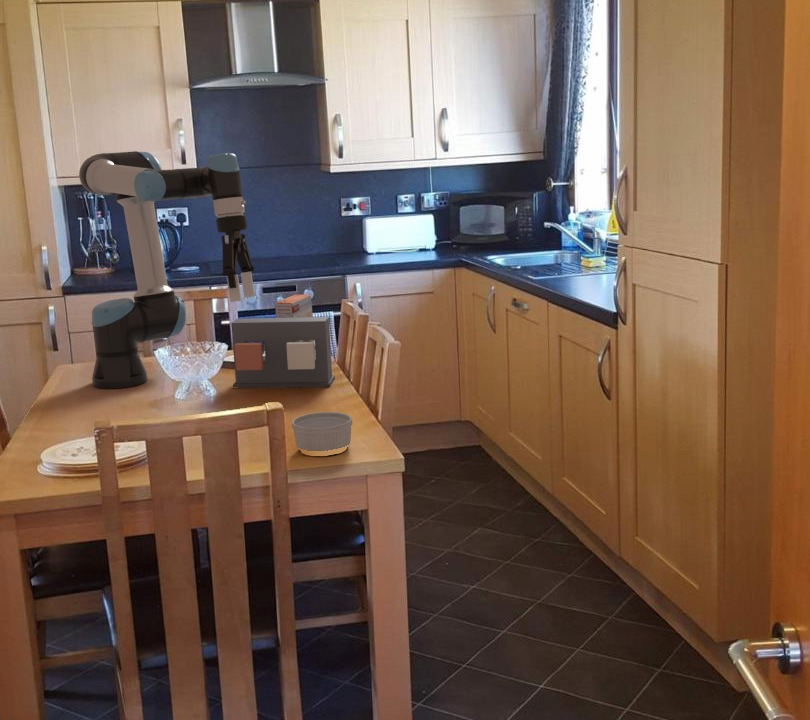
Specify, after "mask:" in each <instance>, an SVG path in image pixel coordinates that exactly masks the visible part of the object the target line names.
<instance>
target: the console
mask: <svg viewBox="0 0 810 720" xmlns="http://www.w3.org/2000/svg"><path fill="white" fill-rule="evenodd" d="M230 324H231V325H230V326H231V338H232V339H231V341H232V351H233V364H234V376H235V377H234V378H235V381H234V382H233V384H232V388H233V387H238V388H237V389H261V388H262V389H266V388H271V389H272V388H273V389H274V388H276V389H277V388H280V389H281V388H330V387H331V386H332V384H333V382H334V380H335V379H336V376H335V375H334V374H333V367H332V353H331V352H332V350H331V331H330V316H319V317H318V316H316V317H315V316H314V317H313V316H312V317H302V318H276V317H263V318H262V317H260V318H257V317H256V318H255V317H254V318H236V319H235V320H232V321H231V323H230ZM299 340H314V345H315V368H314V369H290V370H288V362H287V346H286V344H287V343H288V342H299ZM254 341H259V342H264V343H263V345H264V346H265V352H264V355H263V366H264V368H263V369H262V370H236V360H235V347H234V345H235V344H236V343H251V342H254Z"/></svg>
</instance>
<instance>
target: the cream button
mask: <svg viewBox="0 0 810 720" xmlns="http://www.w3.org/2000/svg"><path fill="white" fill-rule="evenodd" d="M286 346H287V362H288V370H290V369H314V368H315V355H316V354H315V355H314V351H315V341H314V342H311V341H309V340H305V341H303V342H288V343H287V344H286Z"/></svg>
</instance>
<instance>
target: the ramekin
mask: <svg viewBox="0 0 810 720" xmlns="http://www.w3.org/2000/svg"><path fill="white" fill-rule="evenodd" d="M352 418H353V417H352V416H350V415H349V414H347V413H344V412H335V411H321V412H320V411H319V412H311V413H306V414H302V415H299V416H297V417H295V418H294V419H292V421H291V428H292V430H293V434H294V441H295V445H296V448H297V447H298V448H300V449H303V450H307V451H325V450H326V451H328V450H333V449H338V448H342V447H345V446H347V445H349V444H350V445H351V439H352V438H351V437H352V425H353V419H352ZM350 445H349V446H350Z"/></svg>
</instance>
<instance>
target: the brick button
mask: <svg viewBox="0 0 810 720" xmlns="http://www.w3.org/2000/svg"><path fill="white" fill-rule="evenodd" d="M234 347H235V360H236V370H262V369H263V368H264V366H263V356H264V355H265V346H264V343H263V342H262V341H251V342H250V343H236V344H235V345H234Z"/></svg>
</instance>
